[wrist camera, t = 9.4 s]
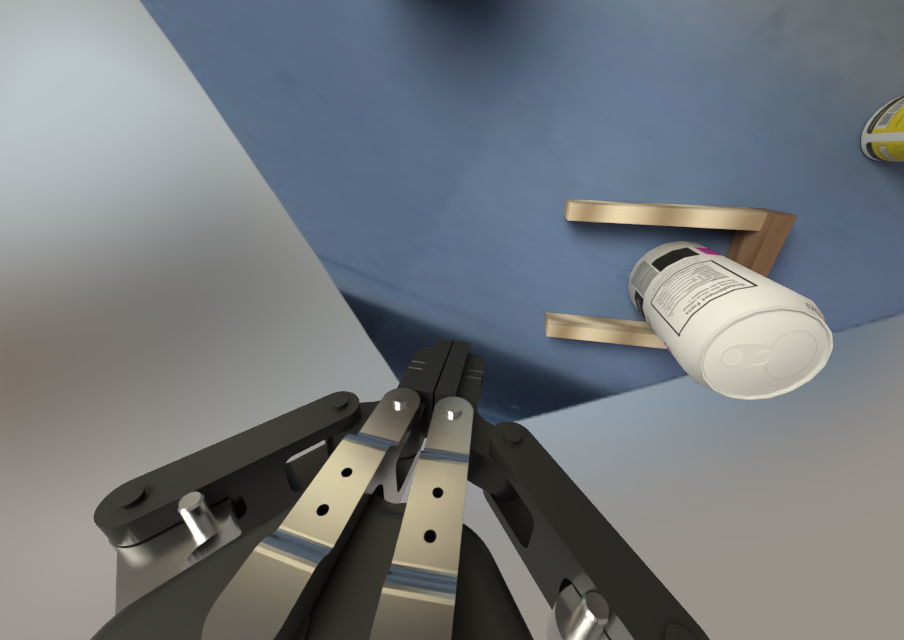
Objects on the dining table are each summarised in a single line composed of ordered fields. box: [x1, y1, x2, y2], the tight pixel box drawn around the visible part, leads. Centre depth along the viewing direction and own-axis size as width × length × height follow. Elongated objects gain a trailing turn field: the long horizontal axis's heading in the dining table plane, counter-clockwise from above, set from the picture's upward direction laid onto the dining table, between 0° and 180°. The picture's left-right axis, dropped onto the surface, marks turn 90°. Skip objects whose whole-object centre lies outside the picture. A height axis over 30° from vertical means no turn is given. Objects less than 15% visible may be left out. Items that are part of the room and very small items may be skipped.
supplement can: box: [627, 241, 833, 400], centre depth 27 cm, size 8×8×15 cm
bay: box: [545, 199, 797, 349], centre depth 33 cm, size 18×14×4 cm
